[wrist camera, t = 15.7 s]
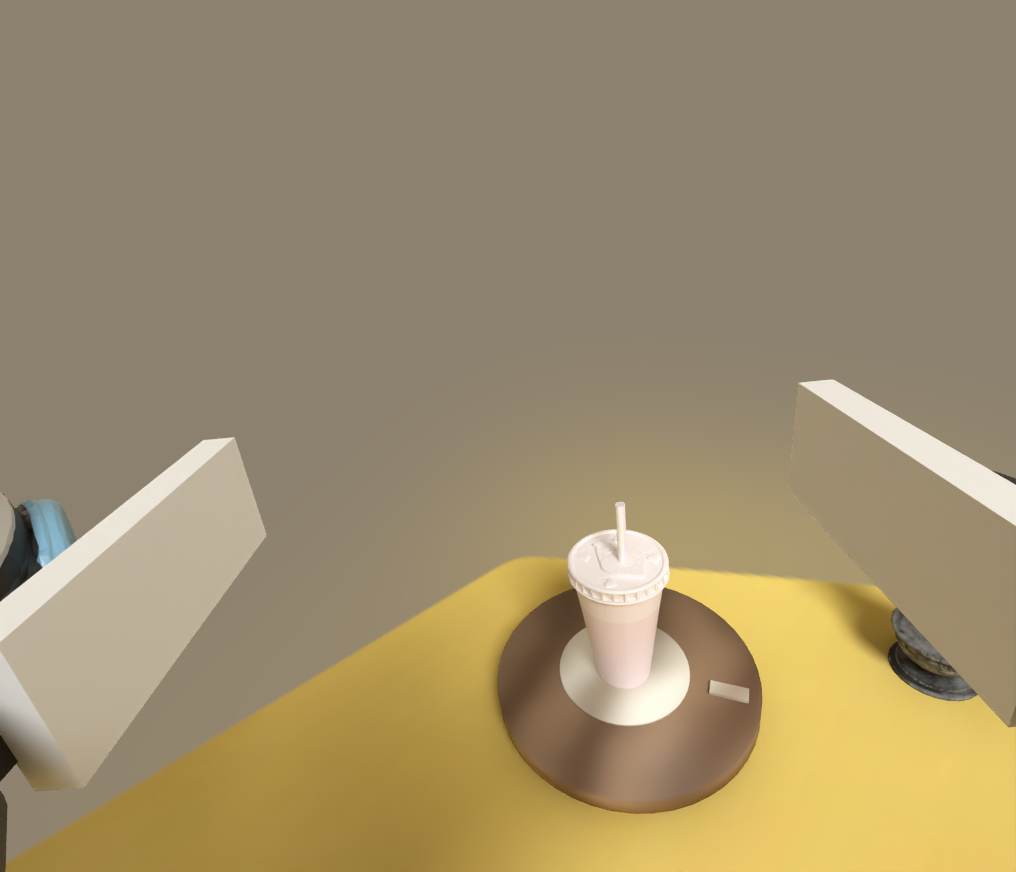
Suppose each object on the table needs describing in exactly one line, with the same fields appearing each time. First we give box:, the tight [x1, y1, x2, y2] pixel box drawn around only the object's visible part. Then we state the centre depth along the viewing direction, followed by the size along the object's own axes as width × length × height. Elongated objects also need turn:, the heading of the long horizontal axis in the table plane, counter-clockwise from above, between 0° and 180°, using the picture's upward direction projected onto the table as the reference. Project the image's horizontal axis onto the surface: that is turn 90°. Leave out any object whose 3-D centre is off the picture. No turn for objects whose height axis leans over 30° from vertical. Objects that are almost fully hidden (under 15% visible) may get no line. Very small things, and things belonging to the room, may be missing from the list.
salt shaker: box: [888, 608, 978, 701], centre depth 36 cm, size 6×6×12 cm
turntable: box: [498, 588, 762, 813], centre depth 40 cm, size 18×18×2 cm
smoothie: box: [568, 502, 670, 689], centre depth 36 cm, size 6×6×14 cm
